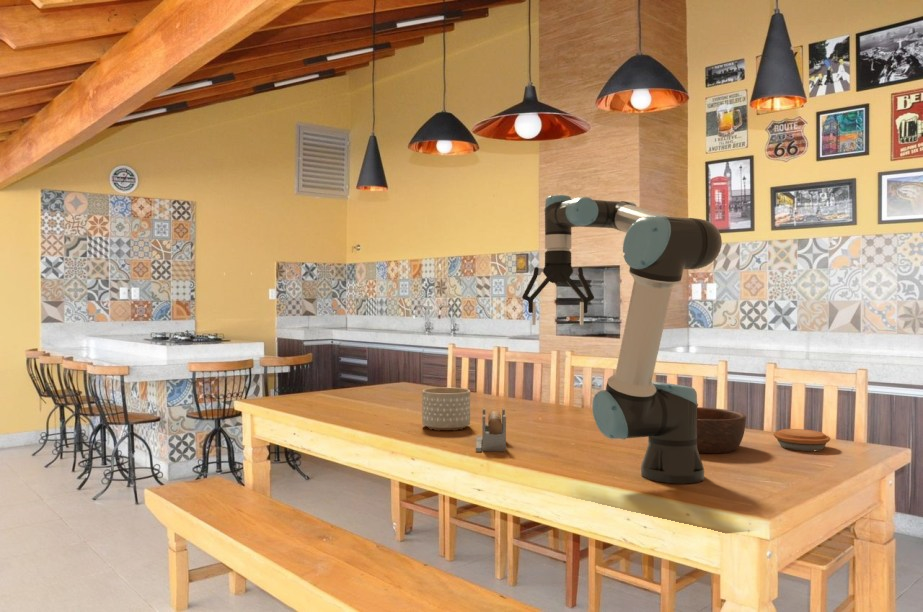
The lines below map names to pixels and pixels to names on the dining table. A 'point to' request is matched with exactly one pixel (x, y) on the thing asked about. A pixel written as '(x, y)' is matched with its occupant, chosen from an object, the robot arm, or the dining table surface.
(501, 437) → the bracket
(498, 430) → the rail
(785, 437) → the pie
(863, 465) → the dining table surface
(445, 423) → the planter
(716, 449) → the wooden bowl
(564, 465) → the dining table surface
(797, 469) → the dining table surface
